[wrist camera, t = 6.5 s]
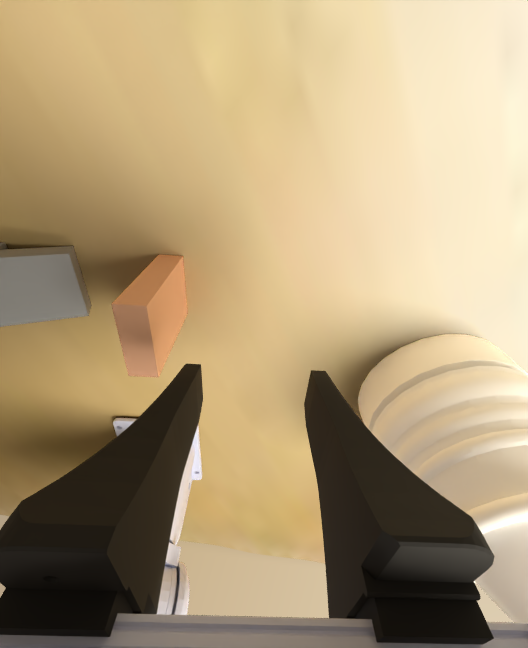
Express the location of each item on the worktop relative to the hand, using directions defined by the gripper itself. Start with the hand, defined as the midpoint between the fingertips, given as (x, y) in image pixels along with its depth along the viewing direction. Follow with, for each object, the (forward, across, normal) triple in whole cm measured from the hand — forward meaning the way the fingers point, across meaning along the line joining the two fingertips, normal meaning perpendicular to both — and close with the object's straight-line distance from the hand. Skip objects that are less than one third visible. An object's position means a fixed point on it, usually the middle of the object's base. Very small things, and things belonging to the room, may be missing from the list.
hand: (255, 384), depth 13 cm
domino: (+9, +12, 0) cm, 15 cm away
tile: (+9, +6, 0) cm, 11 cm away
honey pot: (+10, -16, +9) cm, 21 cm away
